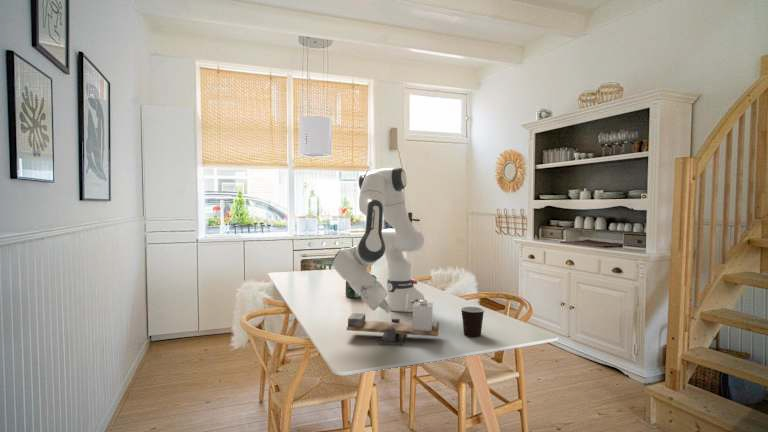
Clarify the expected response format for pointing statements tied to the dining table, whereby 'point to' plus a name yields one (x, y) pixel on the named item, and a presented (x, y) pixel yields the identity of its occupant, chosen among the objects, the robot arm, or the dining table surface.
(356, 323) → the beam
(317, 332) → the dining table surface
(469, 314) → the coffee mug
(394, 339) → the fulcrum
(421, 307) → the block
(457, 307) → the dining table surface
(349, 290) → the coffee jar
